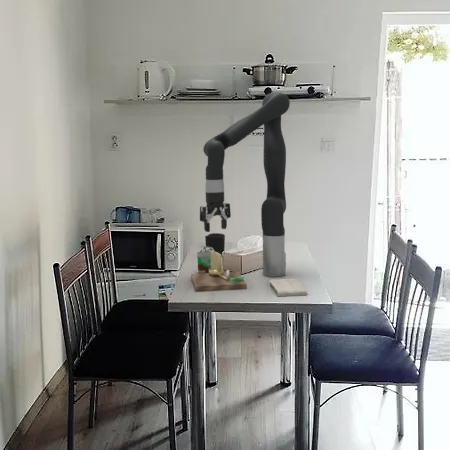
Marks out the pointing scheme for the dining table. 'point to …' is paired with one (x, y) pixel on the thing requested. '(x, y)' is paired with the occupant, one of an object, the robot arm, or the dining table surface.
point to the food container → (204, 260)
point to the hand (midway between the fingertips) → (215, 230)
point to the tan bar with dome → (217, 265)
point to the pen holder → (216, 242)
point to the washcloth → (287, 287)
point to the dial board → (218, 282)
